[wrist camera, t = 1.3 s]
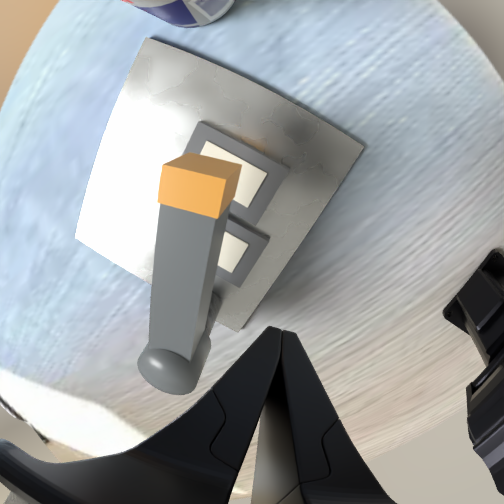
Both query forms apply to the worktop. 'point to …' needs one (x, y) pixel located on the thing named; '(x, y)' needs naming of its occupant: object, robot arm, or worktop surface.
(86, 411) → the worktop surface
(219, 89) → the plate
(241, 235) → the label tile
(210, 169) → the swing arm
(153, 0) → the energy drink
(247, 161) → the label tile
